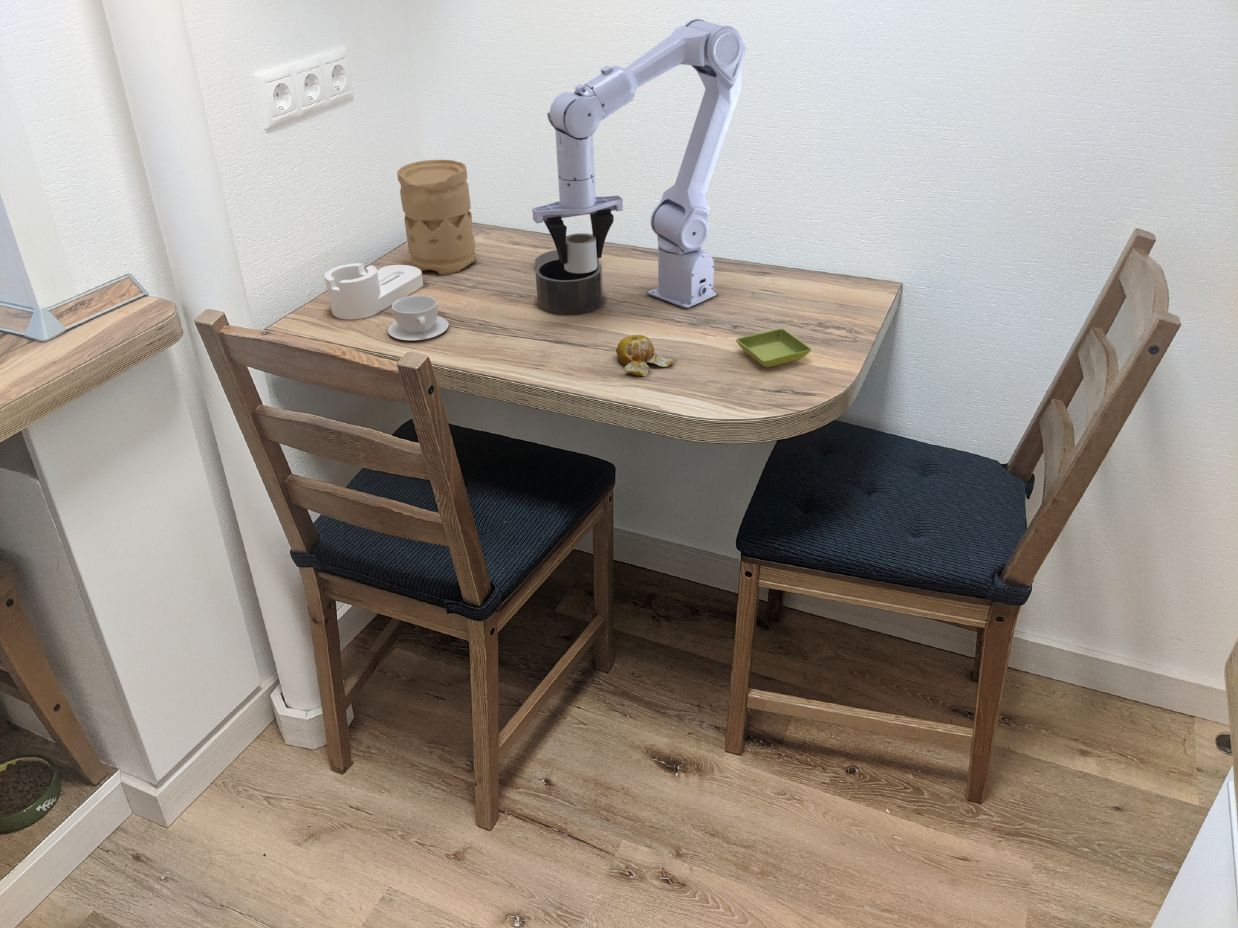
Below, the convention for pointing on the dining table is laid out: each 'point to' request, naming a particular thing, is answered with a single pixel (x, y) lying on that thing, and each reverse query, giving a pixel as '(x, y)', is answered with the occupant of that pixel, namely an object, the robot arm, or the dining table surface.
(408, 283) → the bracket
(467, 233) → the container
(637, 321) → the dining table surface
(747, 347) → the saucer
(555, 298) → the pot
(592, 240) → the tape roll
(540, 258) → the lid
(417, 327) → the teacup
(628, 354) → the fruit
